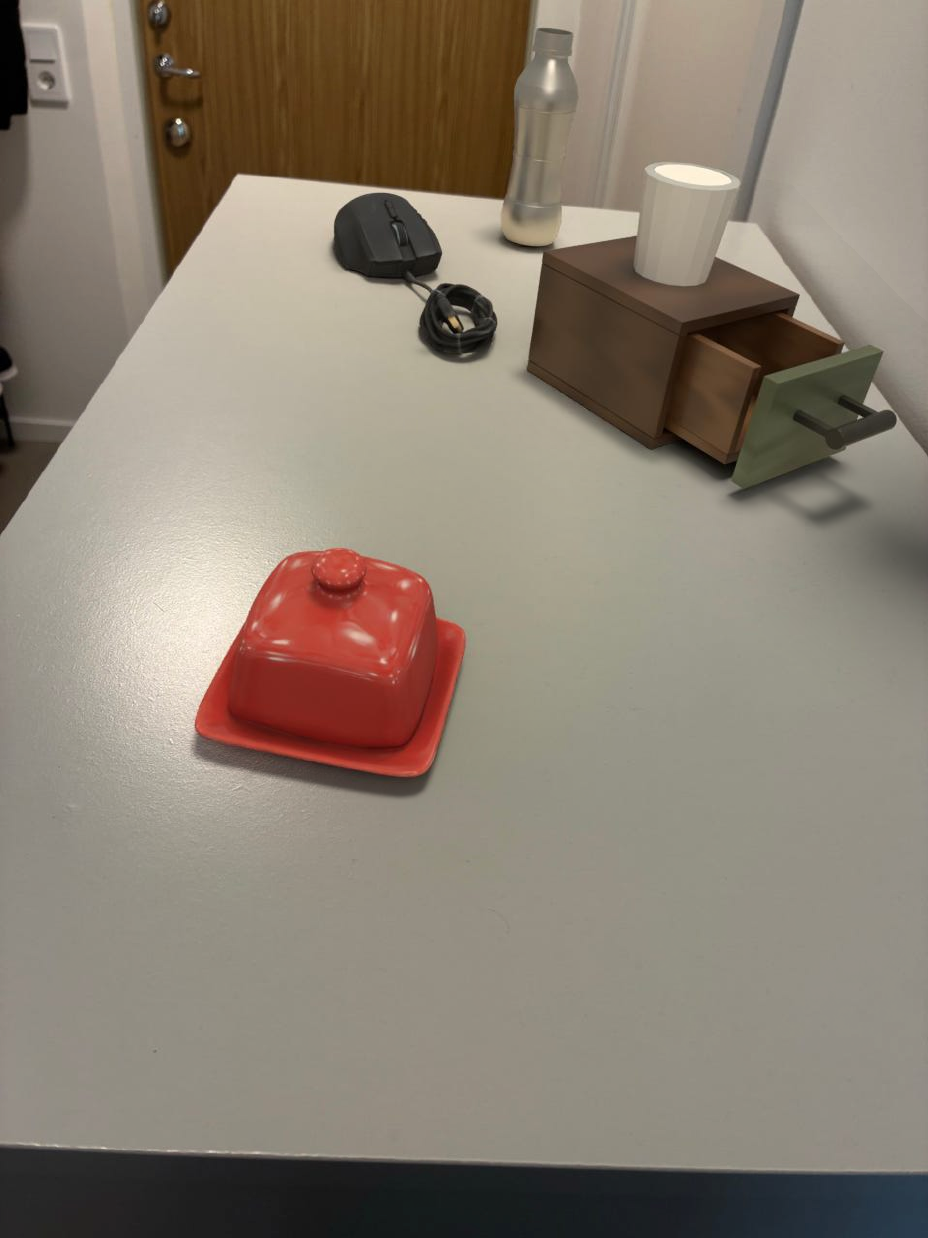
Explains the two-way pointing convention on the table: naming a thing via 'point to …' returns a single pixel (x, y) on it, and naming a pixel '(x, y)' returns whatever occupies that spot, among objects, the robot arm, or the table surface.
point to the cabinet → (631, 329)
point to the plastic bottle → (540, 141)
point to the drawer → (773, 395)
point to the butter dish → (338, 667)
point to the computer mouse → (410, 266)
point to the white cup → (682, 221)
